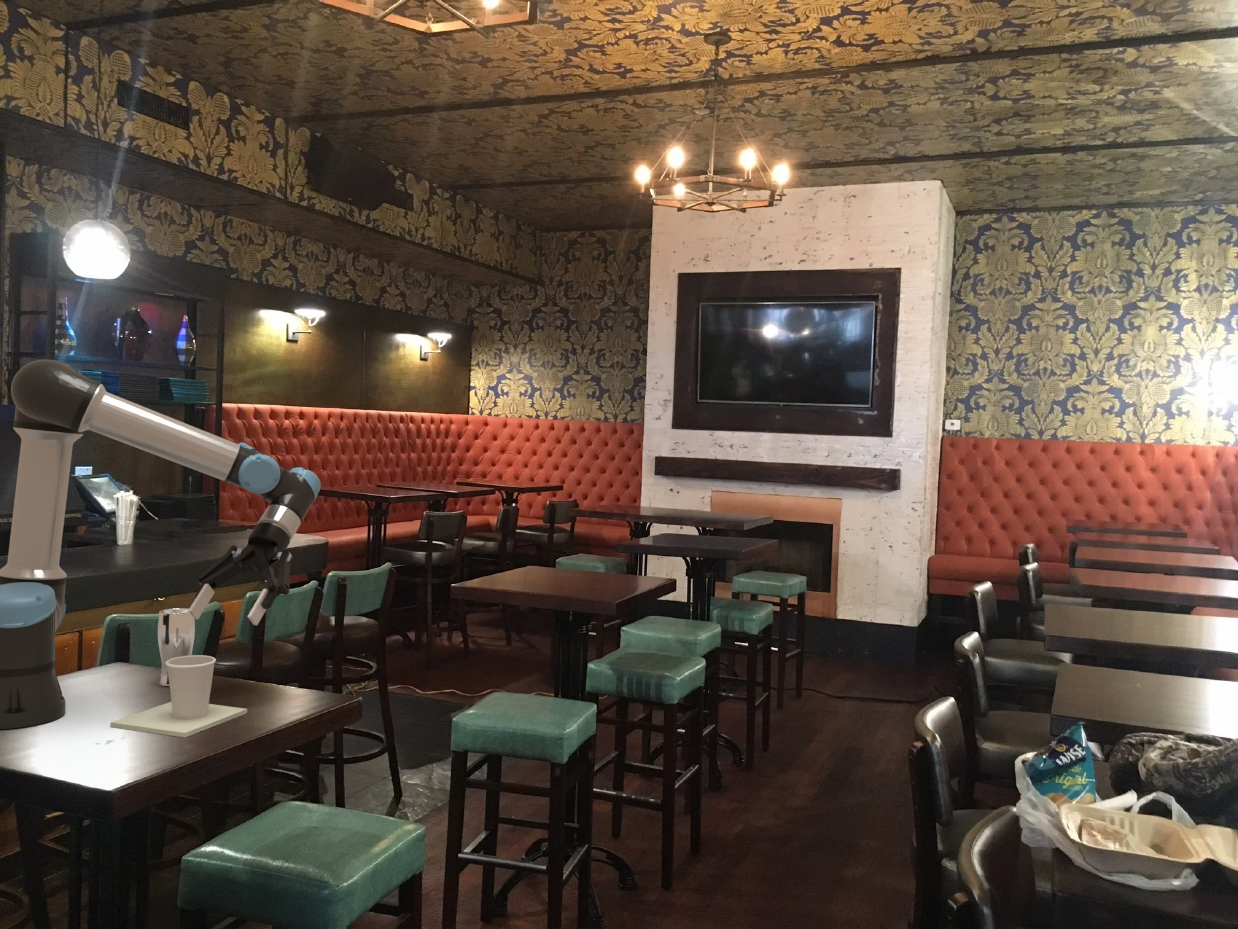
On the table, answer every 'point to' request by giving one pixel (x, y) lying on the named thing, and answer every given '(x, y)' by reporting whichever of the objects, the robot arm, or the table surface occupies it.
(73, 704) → the table surface
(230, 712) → the sage mat
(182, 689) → the dixie cup
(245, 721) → the table surface
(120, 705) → the table surface
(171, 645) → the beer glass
